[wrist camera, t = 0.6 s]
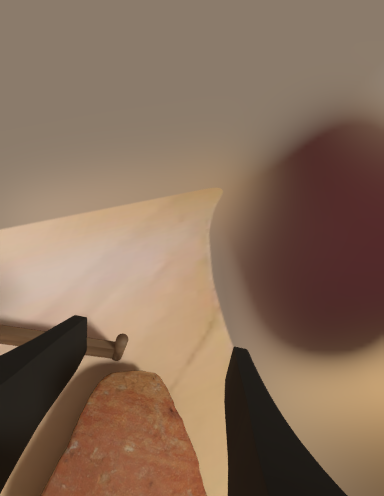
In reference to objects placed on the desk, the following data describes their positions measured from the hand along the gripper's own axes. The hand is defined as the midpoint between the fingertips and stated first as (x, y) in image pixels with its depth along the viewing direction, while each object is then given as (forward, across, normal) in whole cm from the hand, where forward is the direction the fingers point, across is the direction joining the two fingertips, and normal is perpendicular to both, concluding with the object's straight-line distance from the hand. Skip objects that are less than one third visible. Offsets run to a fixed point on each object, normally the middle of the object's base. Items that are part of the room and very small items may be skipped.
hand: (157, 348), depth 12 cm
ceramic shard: (+6, +2, +20) cm, 21 cm away
